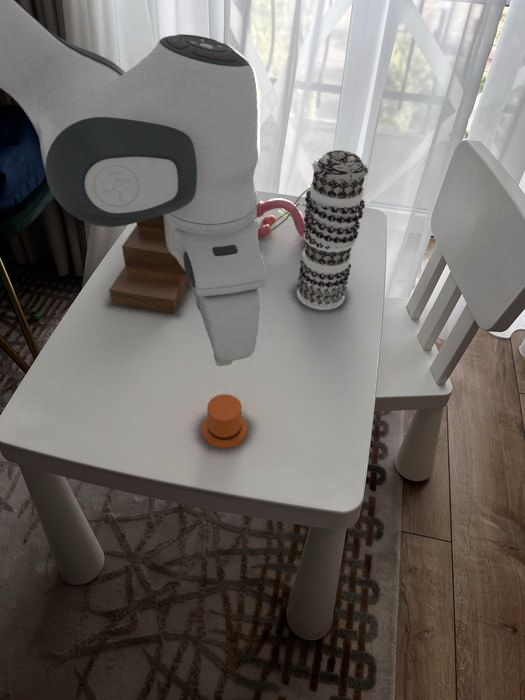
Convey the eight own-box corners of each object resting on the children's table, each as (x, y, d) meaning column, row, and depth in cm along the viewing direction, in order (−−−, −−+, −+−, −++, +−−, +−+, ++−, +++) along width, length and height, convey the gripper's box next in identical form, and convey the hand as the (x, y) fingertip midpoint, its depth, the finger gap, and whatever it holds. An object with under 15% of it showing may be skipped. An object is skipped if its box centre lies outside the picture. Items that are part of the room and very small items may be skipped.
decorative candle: (291, 307, 91) (306, 168, 74) (297, 276, 98) (312, 141, 80) (345, 315, 90) (373, 175, 73) (347, 282, 97) (373, 147, 80)
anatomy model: (251, 202, 110) (304, 156, 101) (295, 248, 115) (350, 208, 106) (238, 227, 103) (294, 180, 93) (286, 275, 108) (344, 235, 98)
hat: (222, 456, 69) (222, 433, 65) (193, 428, 72) (191, 405, 68) (256, 431, 72) (257, 408, 69) (226, 405, 75) (226, 382, 72)
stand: (174, 314, 88) (169, 258, 81) (111, 303, 90) (101, 248, 82) (208, 246, 103) (206, 193, 96) (153, 238, 104) (147, 185, 97)
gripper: (160, 180, 58) (170, 283, 68) (200, 294, 44) (205, 403, 54) (217, 175, 59) (219, 276, 69) (273, 284, 46) (265, 391, 55)
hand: (213, 332), depth 61 cm, fingers open, 8 cm apart
